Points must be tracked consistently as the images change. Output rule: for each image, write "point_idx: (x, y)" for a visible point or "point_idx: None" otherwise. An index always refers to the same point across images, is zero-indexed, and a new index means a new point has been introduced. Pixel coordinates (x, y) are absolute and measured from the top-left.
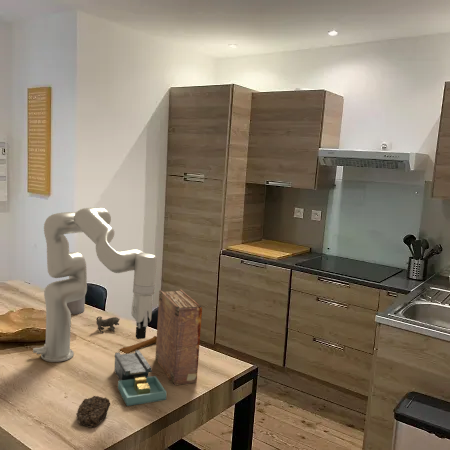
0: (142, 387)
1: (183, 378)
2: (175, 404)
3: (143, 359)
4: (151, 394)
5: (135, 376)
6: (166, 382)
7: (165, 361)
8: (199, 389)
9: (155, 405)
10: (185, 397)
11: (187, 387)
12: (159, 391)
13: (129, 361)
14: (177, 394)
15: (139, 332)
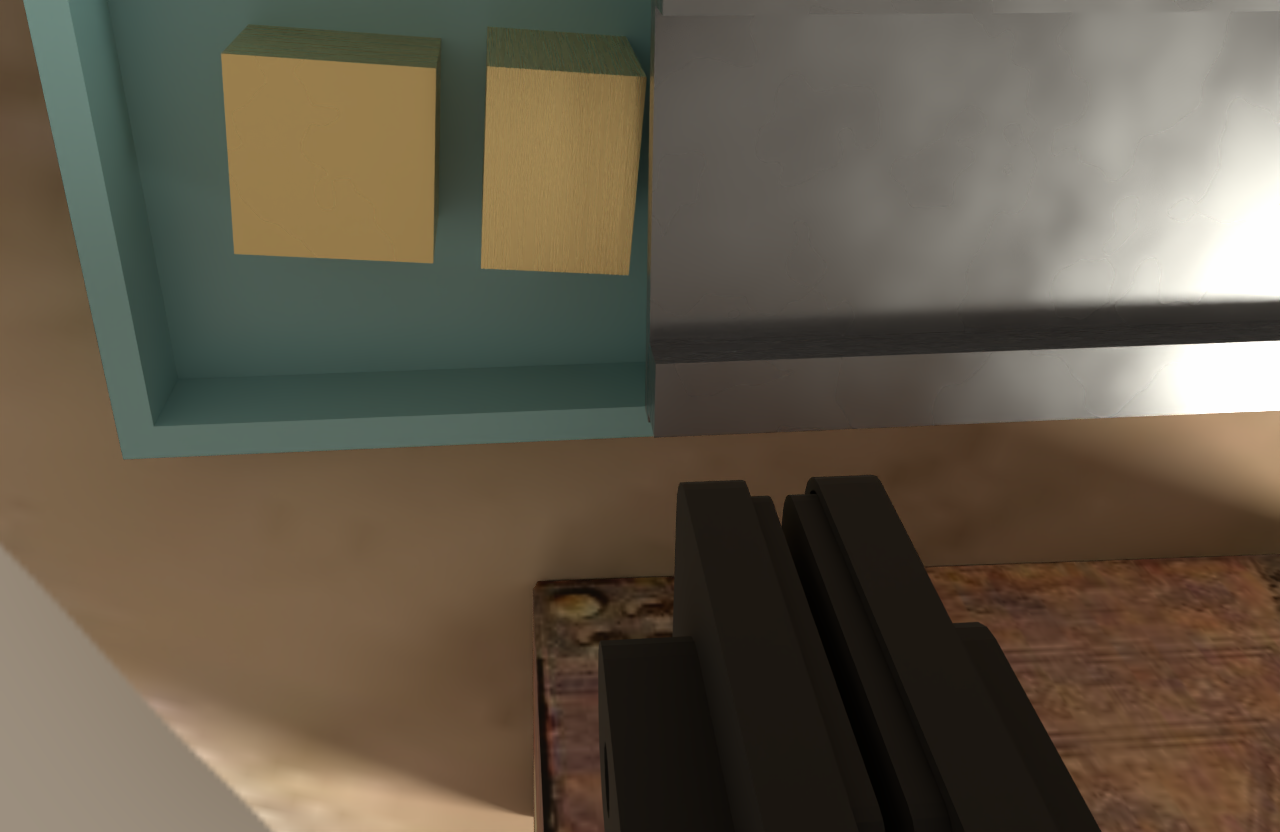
0: (276, 132)
1: (535, 741)
2: (10, 477)
3: (1051, 386)
4: (76, 223)
5: (633, 103)
6: (653, 520)
7: None
8: (360, 808)
9: (9, 219)
10: (186, 629)
11: (444, 708)
12: (363, 373)
13: (1167, 128)
14: (286, 564)
15: (695, 765)
